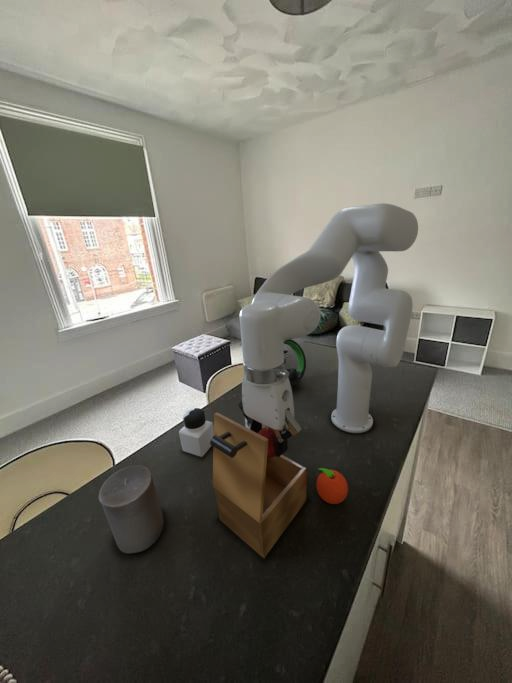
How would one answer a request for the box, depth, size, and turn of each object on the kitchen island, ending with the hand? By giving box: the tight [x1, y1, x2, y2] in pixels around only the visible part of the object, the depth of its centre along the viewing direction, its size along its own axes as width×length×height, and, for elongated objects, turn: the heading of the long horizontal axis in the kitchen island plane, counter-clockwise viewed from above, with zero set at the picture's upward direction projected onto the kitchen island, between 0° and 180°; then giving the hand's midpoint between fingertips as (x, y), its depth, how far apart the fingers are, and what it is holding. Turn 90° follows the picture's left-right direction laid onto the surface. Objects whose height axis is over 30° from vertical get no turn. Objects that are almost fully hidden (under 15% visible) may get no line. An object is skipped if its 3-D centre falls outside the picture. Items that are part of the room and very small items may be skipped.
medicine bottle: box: [178, 407, 214, 458], centre depth 80 cm, size 7×7×12 cm
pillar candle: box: [98, 464, 165, 554], centre depth 57 cm, size 10×10×15 cm
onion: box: [257, 426, 277, 458], centre depth 58 cm, size 6×6×8 cm
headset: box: [284, 339, 307, 389], centre depth 105 cm, size 18×14×29 cm
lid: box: [210, 412, 268, 523], centre depth 50 cm, size 16×13×5 cm
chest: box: [213, 454, 307, 559], centre depth 61 cm, size 16×13×10 cm
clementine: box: [315, 467, 349, 505], centre depth 63 cm, size 8×7×7 cm
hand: (268, 445), depth 58 cm, fingers closed on onion, 5 cm apart
